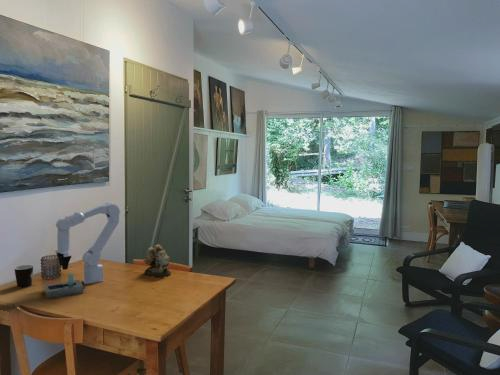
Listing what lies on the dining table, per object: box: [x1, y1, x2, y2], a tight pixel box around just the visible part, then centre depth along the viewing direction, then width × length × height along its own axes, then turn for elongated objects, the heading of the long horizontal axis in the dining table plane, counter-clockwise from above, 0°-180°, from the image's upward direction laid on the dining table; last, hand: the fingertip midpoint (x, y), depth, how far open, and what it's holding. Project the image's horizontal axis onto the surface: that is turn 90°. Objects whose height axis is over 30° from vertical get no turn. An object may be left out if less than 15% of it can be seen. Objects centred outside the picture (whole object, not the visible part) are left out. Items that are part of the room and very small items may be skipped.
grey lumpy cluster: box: [143, 244, 172, 278], centre depth 226 cm, size 18×12×17 cm, turn 65°
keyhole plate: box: [44, 279, 84, 300], centre depth 194 cm, size 16×12×3 cm
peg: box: [67, 273, 75, 286], centre depth 196 cm, size 5×5×9 cm
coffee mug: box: [14, 264, 34, 289], centre depth 204 cm, size 12×9×10 cm
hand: (63, 267), depth 202 cm, fingers open, 7 cm apart
